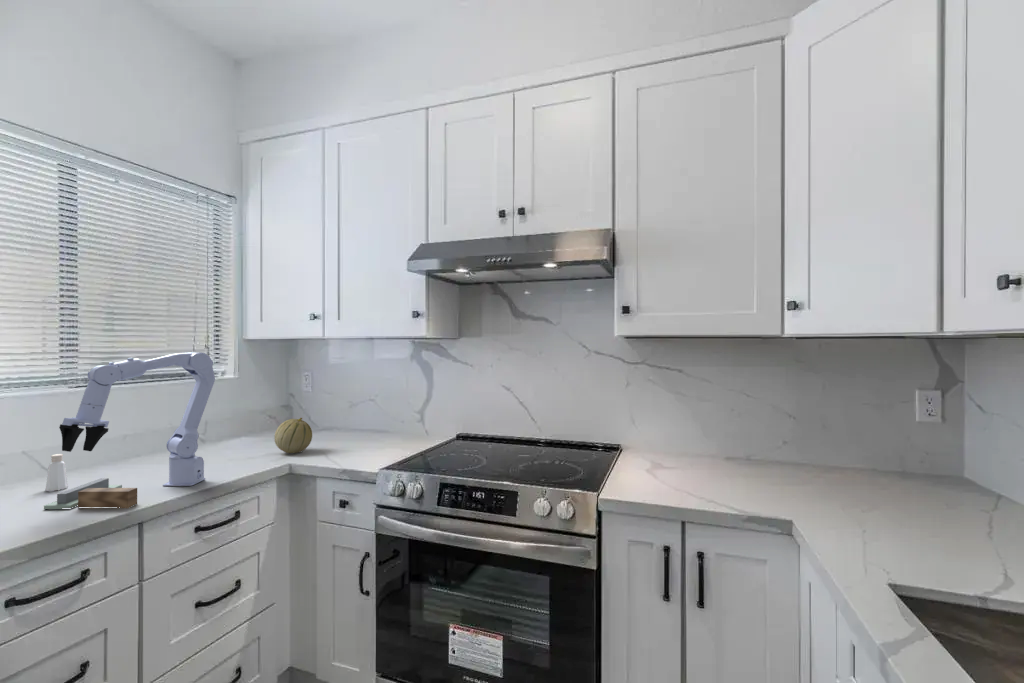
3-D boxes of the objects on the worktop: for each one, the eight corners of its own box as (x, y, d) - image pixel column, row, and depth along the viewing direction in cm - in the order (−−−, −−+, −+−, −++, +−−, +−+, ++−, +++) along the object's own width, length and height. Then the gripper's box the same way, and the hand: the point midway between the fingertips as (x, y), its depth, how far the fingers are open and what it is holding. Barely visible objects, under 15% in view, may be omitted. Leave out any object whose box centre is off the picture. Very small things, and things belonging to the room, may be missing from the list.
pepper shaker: (46, 492, 155) (46, 457, 155) (44, 489, 158) (44, 454, 158) (69, 488, 159) (69, 454, 159) (66, 485, 162) (67, 452, 162)
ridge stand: (121, 488, 159) (122, 476, 159) (69, 509, 139) (69, 495, 139) (99, 488, 159) (99, 476, 159) (43, 509, 139) (43, 495, 139)
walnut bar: (137, 504, 144) (137, 487, 144) (128, 508, 141) (128, 491, 141) (88, 505, 144) (88, 488, 144) (78, 509, 140) (78, 491, 140)
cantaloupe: (270, 452, 211) (270, 417, 211) (305, 447, 221) (305, 414, 221) (281, 458, 200) (281, 421, 200) (317, 453, 210) (317, 418, 210)
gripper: (98, 404, 154) (83, 448, 151) (59, 400, 140) (41, 448, 137) (120, 408, 154) (106, 452, 151) (84, 404, 140) (67, 453, 137)
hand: (77, 450), depth 144 cm, fingers open, 7 cm apart
